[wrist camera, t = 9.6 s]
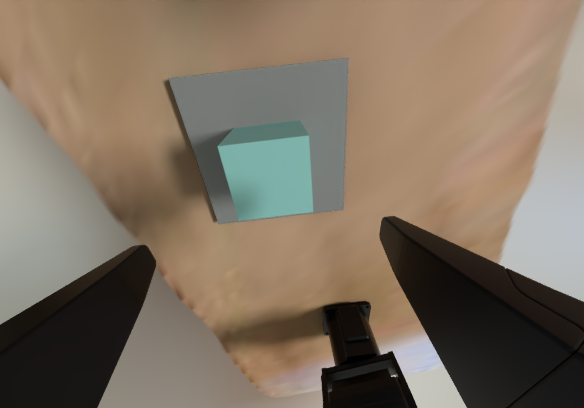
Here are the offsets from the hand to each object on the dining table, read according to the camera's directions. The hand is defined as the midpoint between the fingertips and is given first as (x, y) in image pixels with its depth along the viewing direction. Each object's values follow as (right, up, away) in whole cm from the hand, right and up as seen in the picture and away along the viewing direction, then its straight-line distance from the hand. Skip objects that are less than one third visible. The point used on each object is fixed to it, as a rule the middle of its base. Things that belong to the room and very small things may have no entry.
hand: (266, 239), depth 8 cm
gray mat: (-1, +6, +9) cm, 11 cm away
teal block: (-1, +5, +9) cm, 10 cm away
